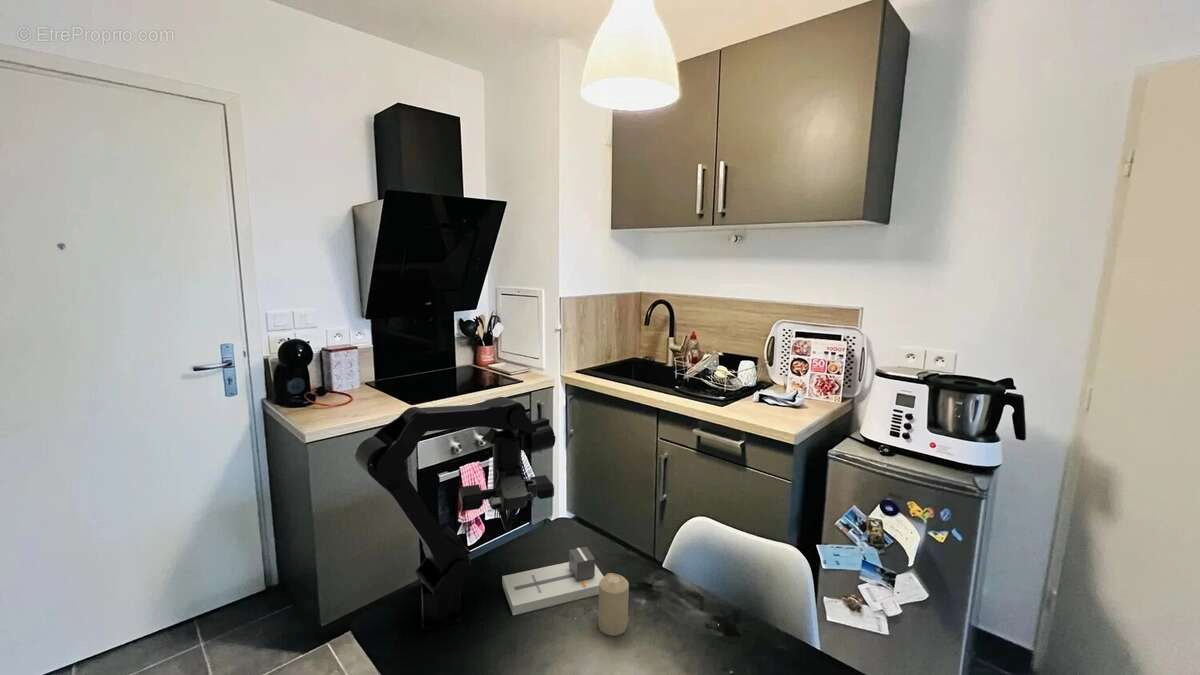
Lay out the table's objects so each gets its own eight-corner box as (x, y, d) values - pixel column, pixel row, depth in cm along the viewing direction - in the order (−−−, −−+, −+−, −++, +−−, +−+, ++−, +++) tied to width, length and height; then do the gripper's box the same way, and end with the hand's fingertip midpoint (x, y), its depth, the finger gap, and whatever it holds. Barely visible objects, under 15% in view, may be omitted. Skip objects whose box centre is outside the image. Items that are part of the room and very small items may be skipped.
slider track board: (512, 615, 95) (512, 605, 94) (502, 585, 104) (502, 575, 103) (607, 592, 102) (608, 582, 102) (590, 565, 111) (590, 556, 111)
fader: (576, 580, 102) (577, 562, 101) (568, 567, 107) (569, 549, 106) (594, 576, 103) (595, 558, 103) (586, 563, 108) (586, 546, 108)
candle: (630, 619, 94) (632, 571, 93) (622, 639, 89) (624, 588, 88) (603, 612, 96) (604, 565, 95) (594, 631, 91) (595, 581, 90)
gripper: (465, 481, 90) (466, 560, 92) (562, 467, 97) (561, 542, 99) (458, 459, 100) (459, 531, 102) (546, 448, 107) (546, 516, 109)
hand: (507, 530), depth 103 cm, fingers closed
